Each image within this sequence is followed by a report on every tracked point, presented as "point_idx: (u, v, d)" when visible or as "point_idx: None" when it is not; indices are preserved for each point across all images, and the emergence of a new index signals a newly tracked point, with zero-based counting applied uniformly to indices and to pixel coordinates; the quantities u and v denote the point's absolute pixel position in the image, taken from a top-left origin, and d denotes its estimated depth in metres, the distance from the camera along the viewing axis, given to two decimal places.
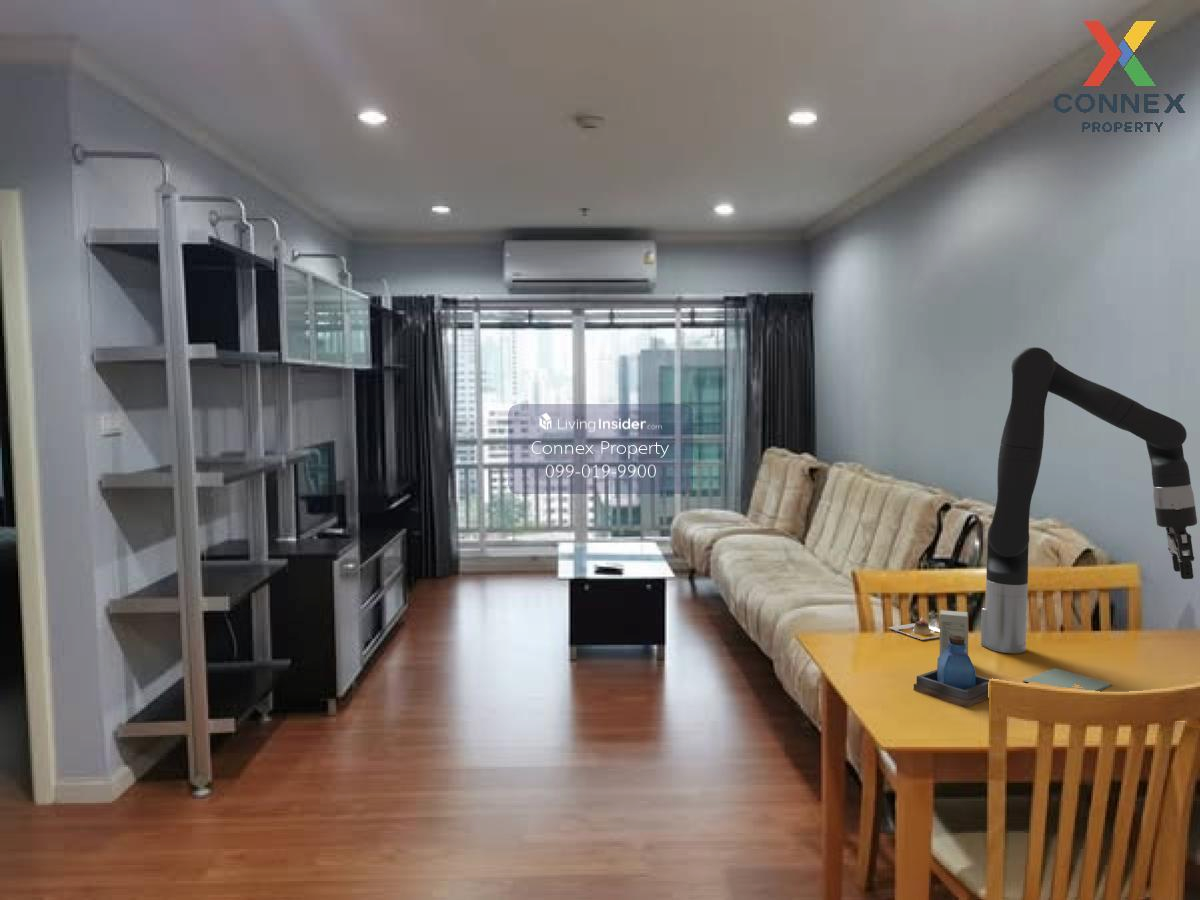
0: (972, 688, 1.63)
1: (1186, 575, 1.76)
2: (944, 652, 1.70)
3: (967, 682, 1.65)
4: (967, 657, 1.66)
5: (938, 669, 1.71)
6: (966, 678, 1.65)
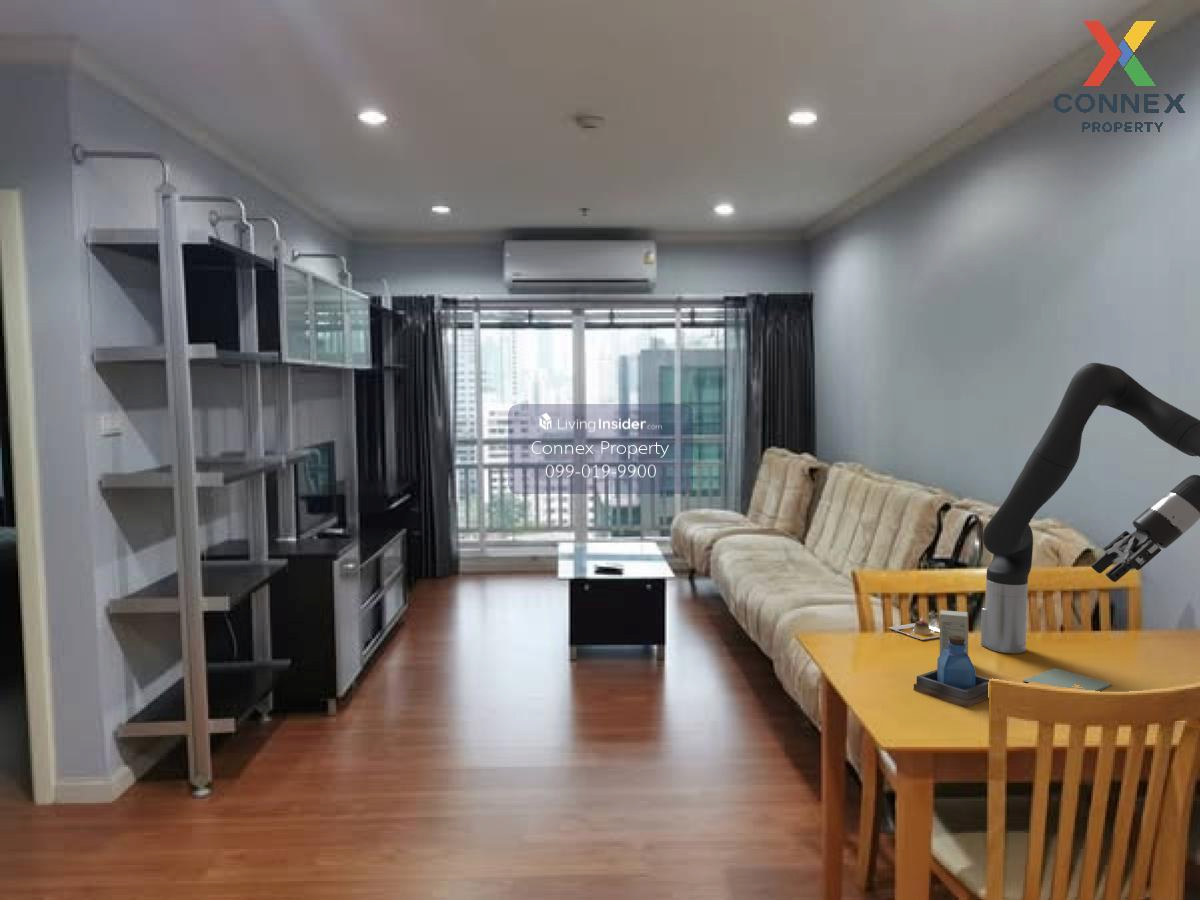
0: (972, 688, 1.63)
1: (1114, 575, 1.57)
2: (944, 652, 1.70)
3: (967, 682, 1.65)
4: (967, 657, 1.66)
5: (938, 669, 1.71)
6: (966, 678, 1.65)
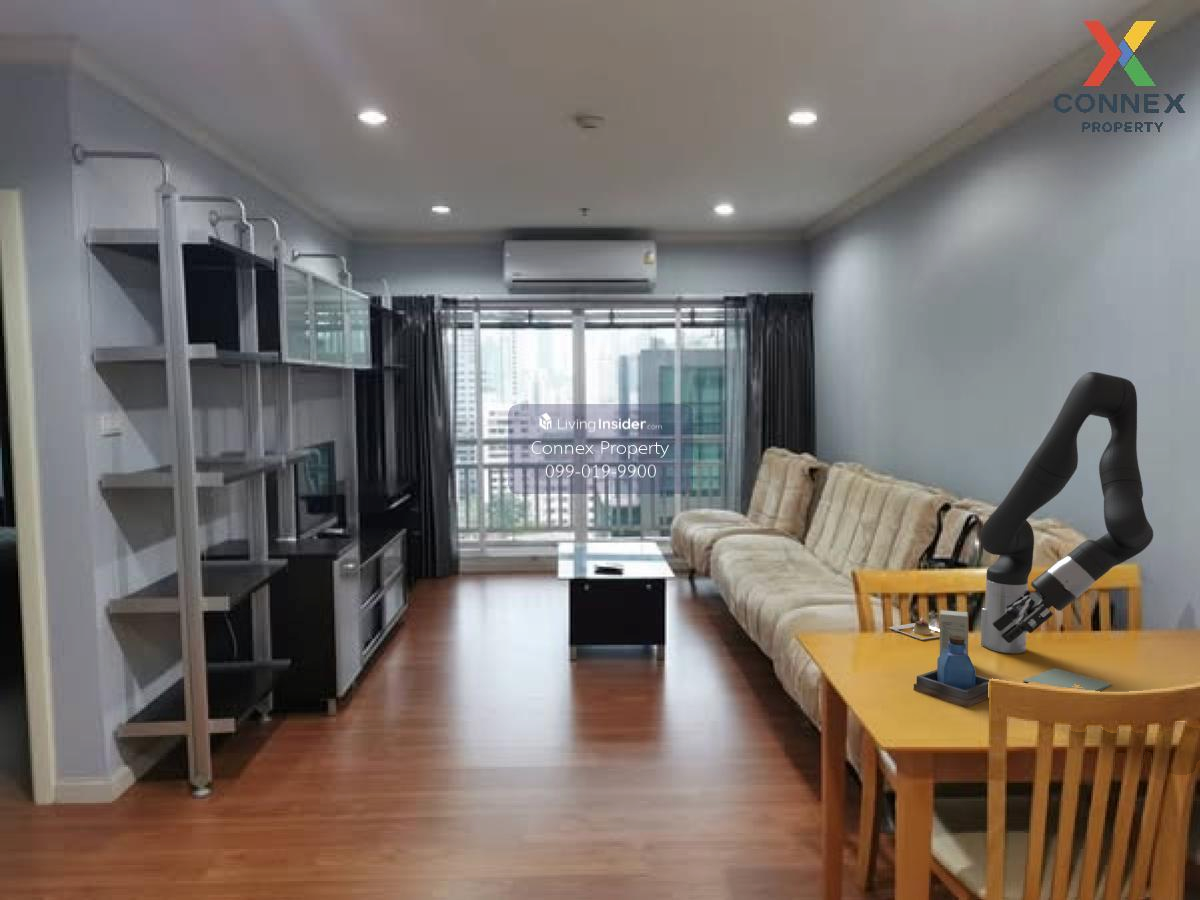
0: (972, 688, 1.63)
1: (1008, 636, 1.60)
2: (944, 652, 1.70)
3: (967, 682, 1.65)
4: (967, 657, 1.66)
5: (938, 669, 1.71)
6: (966, 678, 1.65)
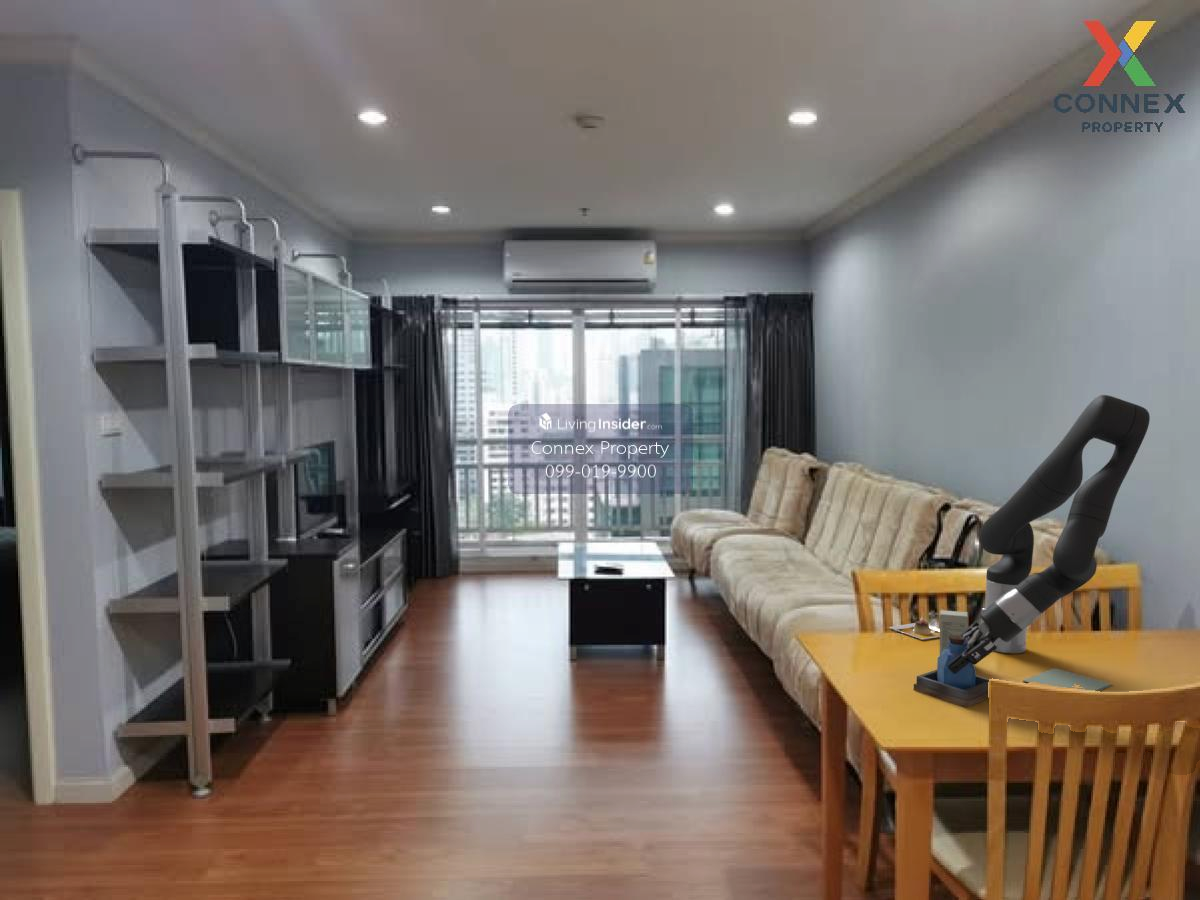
0: (972, 688, 1.63)
1: (953, 668, 1.64)
2: (944, 652, 1.70)
3: (967, 681, 1.65)
4: None
5: (938, 669, 1.71)
6: (966, 678, 1.65)
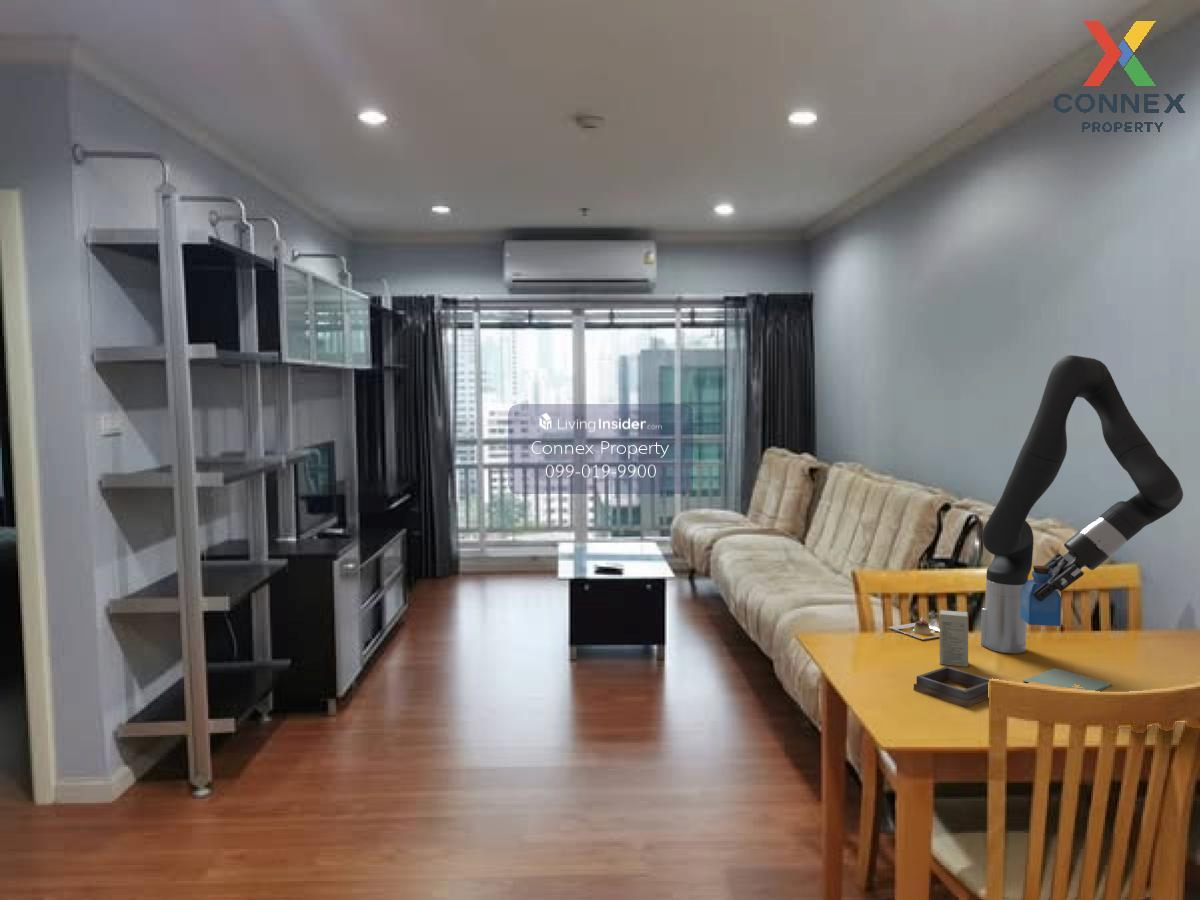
0: (972, 688, 1.63)
1: (1039, 595, 1.67)
2: (1028, 582, 1.72)
3: (1053, 609, 1.68)
4: None
5: (1022, 599, 1.74)
6: (1051, 605, 1.68)
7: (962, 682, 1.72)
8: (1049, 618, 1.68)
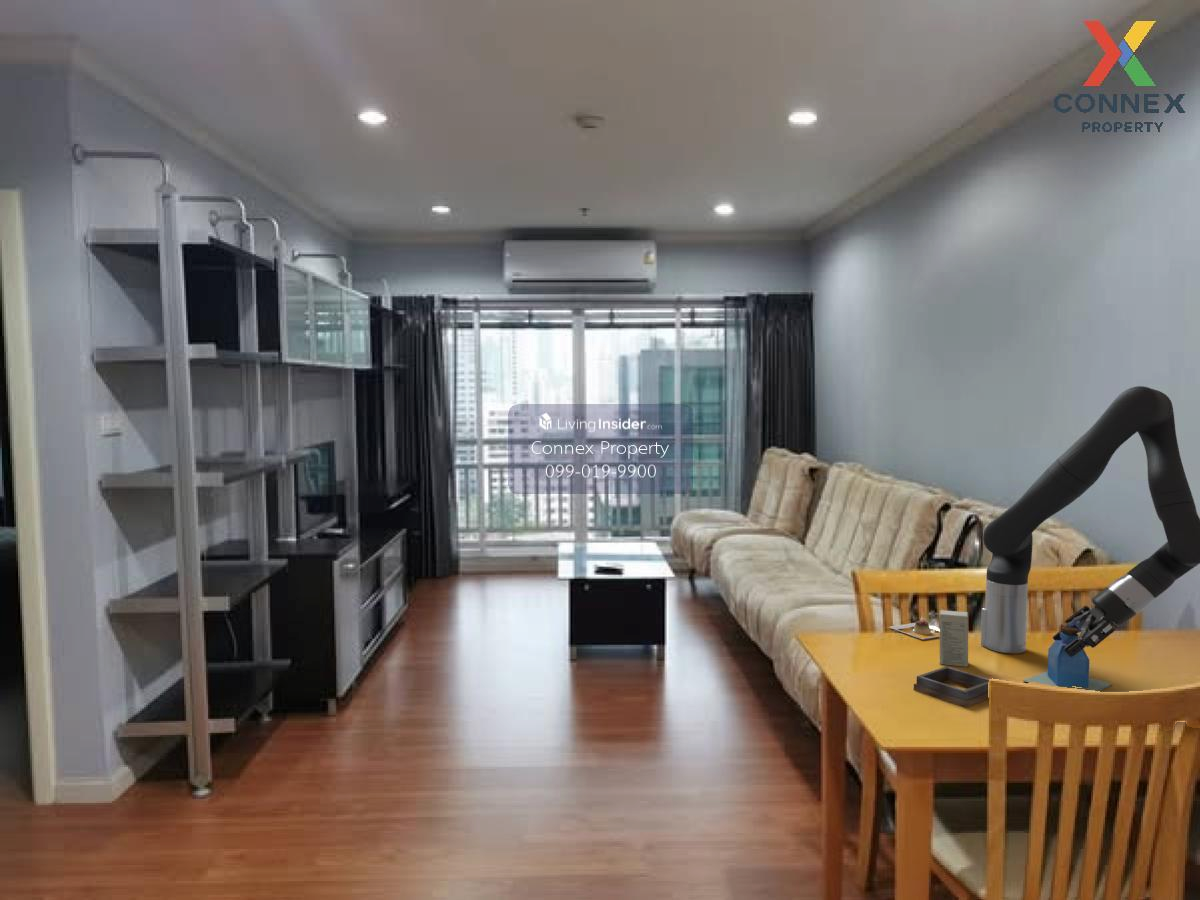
0: (972, 688, 1.63)
1: (1071, 651, 1.68)
2: (1056, 642, 1.74)
3: (1081, 671, 1.70)
4: None
5: (1049, 659, 1.76)
6: (1079, 667, 1.70)
7: (962, 682, 1.72)
8: (1077, 680, 1.70)
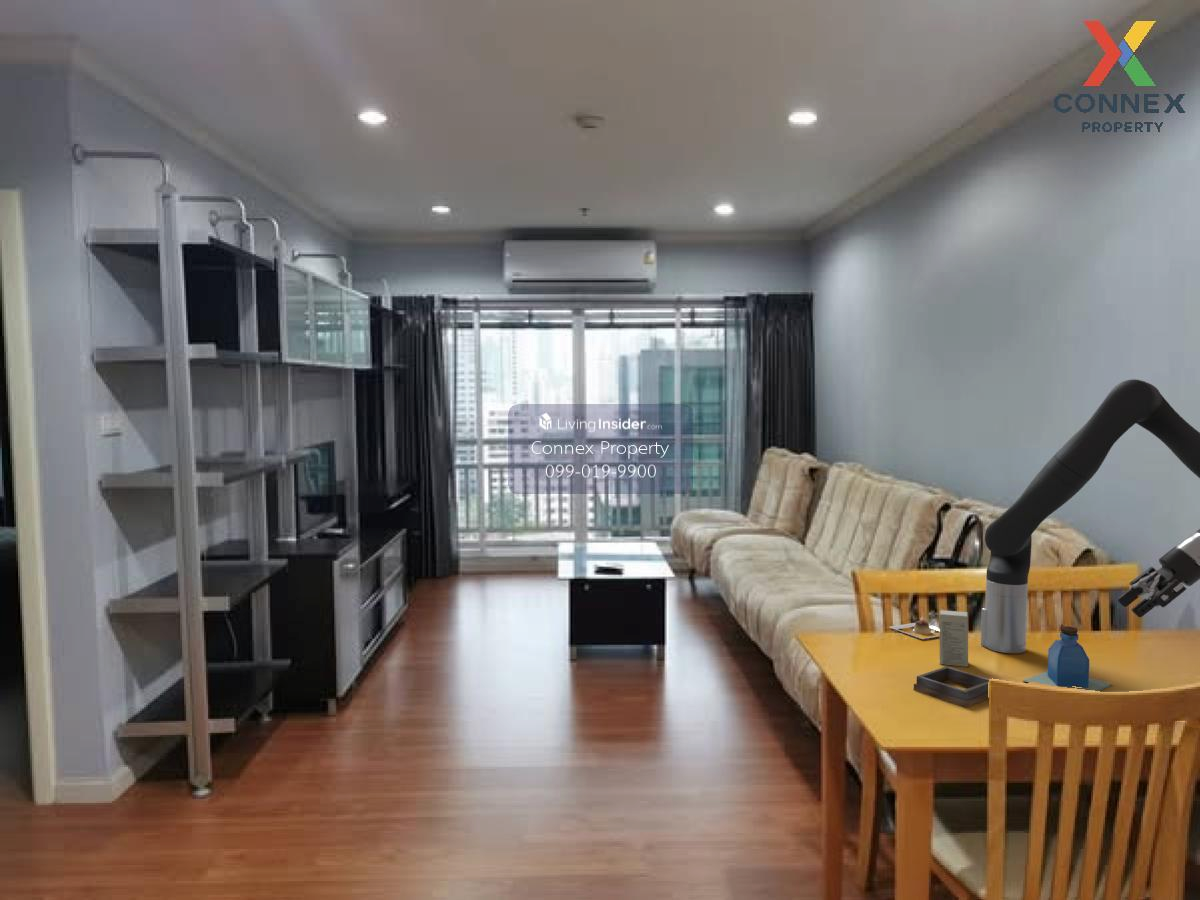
0: (972, 688, 1.63)
1: (1139, 611, 1.64)
2: (1056, 642, 1.74)
3: (1081, 671, 1.70)
4: (1080, 647, 1.70)
5: (1049, 659, 1.76)
6: (1079, 667, 1.70)
7: (962, 682, 1.72)
8: (1077, 680, 1.70)
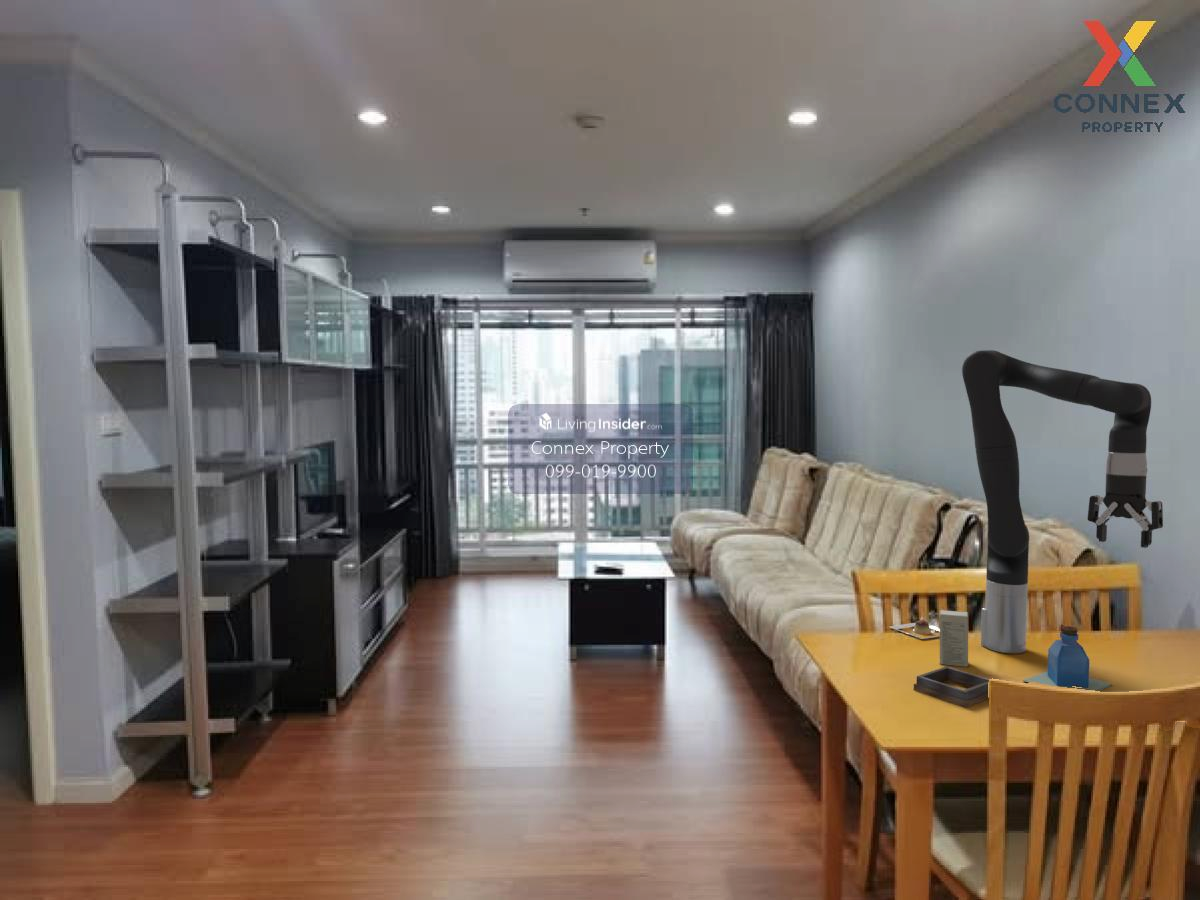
0: (972, 688, 1.63)
1: (1149, 543, 1.72)
2: (1056, 642, 1.74)
3: (1081, 671, 1.70)
4: (1080, 647, 1.70)
5: (1049, 659, 1.76)
6: (1079, 667, 1.70)
7: (962, 682, 1.72)
8: (1077, 680, 1.70)
